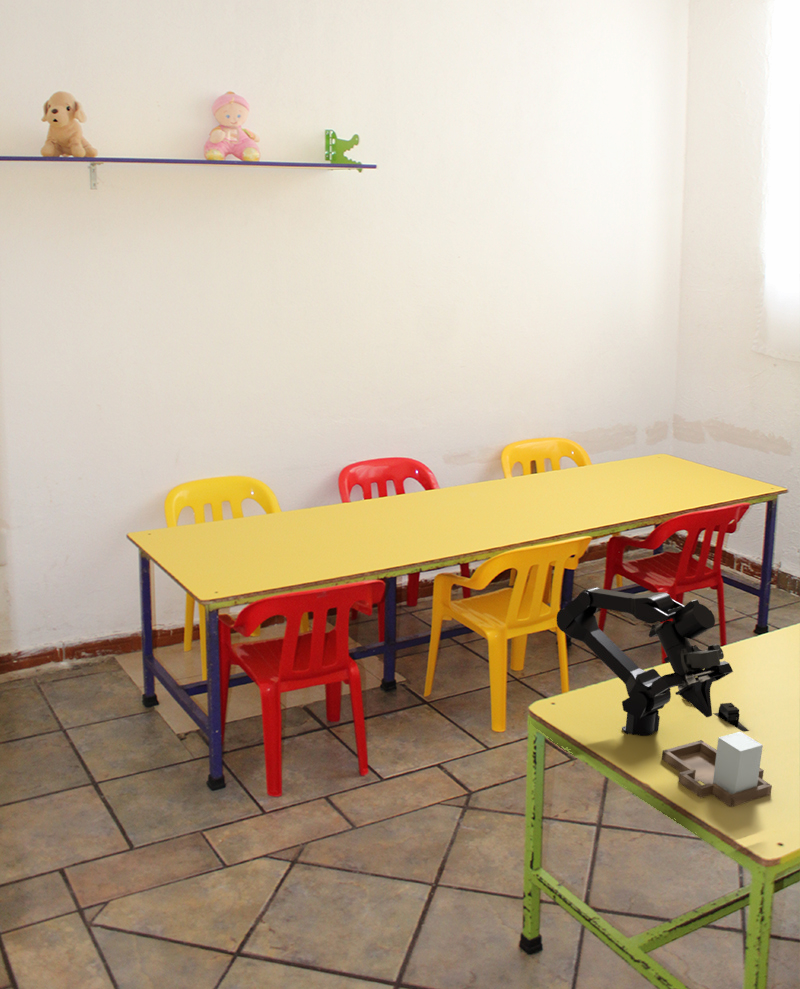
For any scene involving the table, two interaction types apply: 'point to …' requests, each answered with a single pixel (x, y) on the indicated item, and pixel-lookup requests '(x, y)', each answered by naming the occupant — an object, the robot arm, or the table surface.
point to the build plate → (730, 715)
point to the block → (737, 762)
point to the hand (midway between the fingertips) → (709, 716)
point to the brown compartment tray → (708, 773)
